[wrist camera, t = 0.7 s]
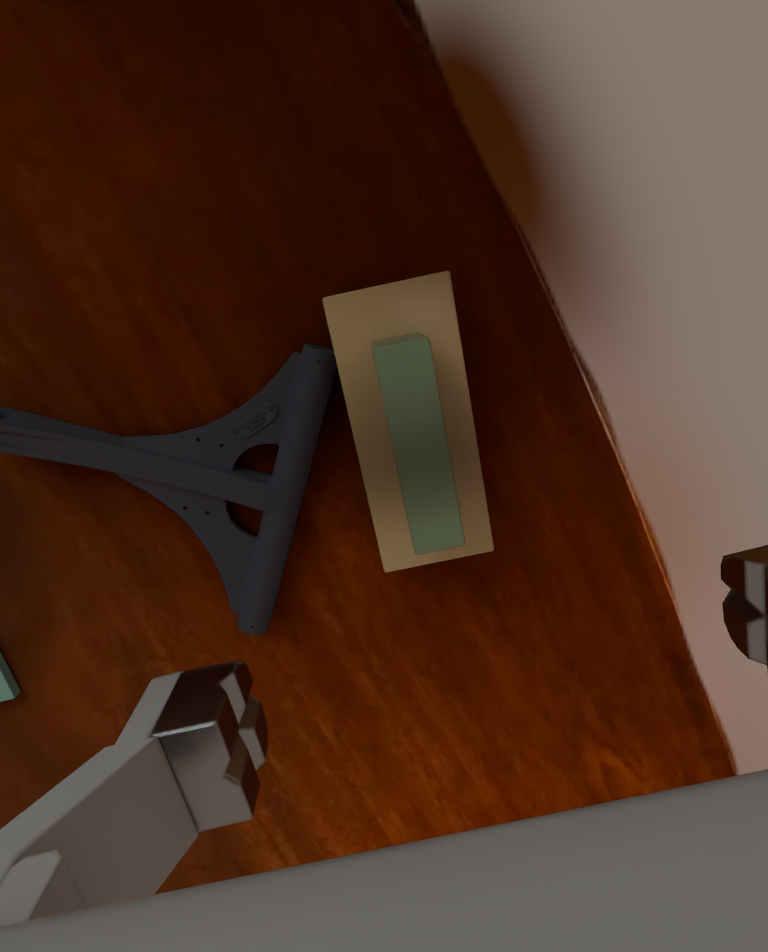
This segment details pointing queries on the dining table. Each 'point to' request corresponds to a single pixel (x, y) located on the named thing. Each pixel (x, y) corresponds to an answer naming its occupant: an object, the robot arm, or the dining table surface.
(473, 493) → the brush
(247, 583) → the bracket
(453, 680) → the dining table surface
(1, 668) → the mat
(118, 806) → the robot arm
